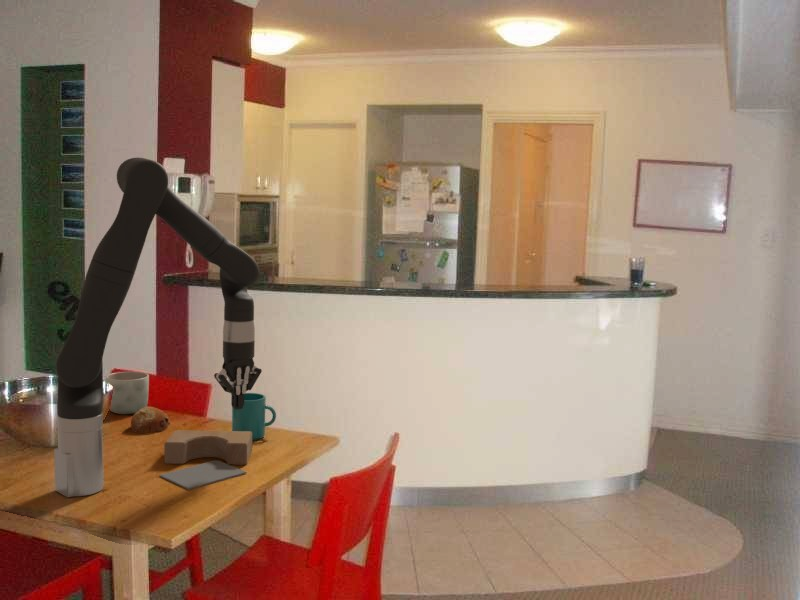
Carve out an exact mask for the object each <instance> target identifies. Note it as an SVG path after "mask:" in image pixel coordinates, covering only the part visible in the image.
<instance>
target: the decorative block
mask: <svg viewBox="0 0 800 600" xmlns="http://www.w3.org/2000/svg"><path fill="white" fill-rule="evenodd" d="M163 447H164V451H163V452H164V454H163V455H164V458H163V459H164V463H165V465H184V464H185V463H187V462H189V461H191V460H196V459H200V458H214V459H216V458H218V459H221V460H223V461H226V464H228V465H230V466H246V465H247V464H248V462H249V460H250V457H251V454H252V451H253V440H252V432H251V431H232V430H190V429H189V430H187V429H184V430H183V429H179V430H178V429H175V430H174V431H173V432H172V433H171V435H170V436H169V437H168V438H167V440H166V441H165V442H164V446H163Z"/></svg>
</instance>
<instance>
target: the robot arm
mask: <svg viewBox="0 0 800 600" xmlns="http://www.w3.org/2000/svg"><path fill="white" fill-rule="evenodd" d="M116 182H117V185H118V187H119V189H120V191H121V192H122V193H123V194H122V199H121V201H120V205H119V209H118V211H117V214H116V217H115V219H114V220H113V222H112V224H111V226H110V227H109V228H108V230H107V231H106V232H105V234H104V236H103V238H102V239H101V240H100V242H99V243H98V245H97V246H96V248H95V251H94V252H93V255H92V259H91V261H90V264H89V266H88V269H87V271H86V275H85V278H84V282H83V285H82V289H81V292H80V293H81V294H80V297H79V298H80V299H79V302H78V307H77V312H76V316H75V320H74V323H73V325H72V328H71V330H70V332H69V334H68V336H67V338H66V341H65V343H64V345H63V346H62V348H61V349H60V351H59V352H58V354H57V357H56V360H55V365H54V366H55V372H56V374H57V389H58V390H57V405H56V409H57V410H56V411H57V413H56V415H57V447H56V448H54V450H53V452H54V453H53V455H54V459H53V460H54V490H55V492H57V493H59V494H61V495H63V496H64V497H66V498H70V497H71V498H72V497H82V496H83V497H85V496H91V495H93V494H96V493H98V492H100V491H102V490H103V489H104V480H105V479H104V438H103V437H104V430H103V429H104V426H103V423H104V422H103V421H104V420H103V419H104V416H103V412H104V411H103V406H104V405H103V404H104V401H103V399H104V398H103V397H104V384H103V383H104V382H103V380H104V378H103V374H104V370H103V366H104V365H103V364H104V363H103V362H104V361H103V357H104V353H105V350H106V349H105V348H106V344H107V341H108V338H109V334H110V331H111V329H112V327H113V324H114V322H115V320H116V318H117V316H118V315H119V312H120V310H121V308H122V306H123V305H124V302H125V299H126V297H127V294H128V292H129V291H130V290H129V289H130V287H131V284H132V281H133V279H134V275H135V274H136V273H135V272H136V271H137V267H138V264H139V260H140V257H141V255H142V252H143V249H144V246H145V242H146V239H147V236H148V232H149V230H150V228H151V224H152V222H153V220H154V218H155V216H157V217H159V218H160V219H162V221H164V222H165V224H167V225H168V226H169V227H170V228H171V229H172V230H174V231H175V233H176V234H178V235H179V237H181V238H182V239H183V240H184V241H185V242H186V243H187V244H188V245H189V246H190V247H191V248H192V249H193V250H195V252H197V254H199V255H200V256H201V257H202V258H203V259H204V260H206V261H207V262H209V263H211V264H214V265H216V266H217V267H219V282H220V286H221V293H222V297H223V300H224V301H223V302H224V306H223V311H224V312H223V319H224V320H223V328H222V358H223V363H222V366H221V368H222V369H221V370H220V371H219V372H216V373H214V375H213V377H214V379H215V380H216V381H217V383H218V384H219V386H221V388H222V390H224V392H227V393H229V394H230V395H231V399H230V400H231V403H230V404H231V405H230V406H231V408H232V407H233V408H234V409H236V410H239V409H243V406H244V397H245V393H247V391H251V390H252V389H253V387H254V385H255V384H256V382H257V380H258V379H259V377H260V375H261V373H262V372H263V371H262V369H261V368H258V367H257V366H256V365H255V361H254V358H255V343H256V340H255V339H256V338H255V336H256V334H255V332H256V330H255V327H256V326H255V320H254V319H255V303H254V302H255V301H254V299H253V297H252V296H250V294H249V293H248V288H247V287H250V286H253V285H255V283H256V282H257V281H258V280H259V278H260V267H259V265H258V263H257V261H256V260H255V259H254V258H253V257H252V256H251V255H249V254H248V252H246V251H245V250H243V249H242V248H240V247H239V246H237V245H236V244H234V243H233V242H232V241H230V240H229V239H228V238H227V237H226V236H225V235H224V234H223V233H222V232H221V231H220V230H219V229H218V228H217V227H216V226H215V225H214V224H213V223H212V222H210V221H209V220H208V219H207V218H206V217H204V216H203V215H202V214H200V213H199V212H197V211H196V210H195V209H194V208H192V207H191V206H190V205H189V204H187V203H186V202H184V201H183V200H182V199H181V198H180V197H179V196H177V194H176V193H174V192H173V190H172V189H170V187H169V176H168V172H167V171H166V169H165V167H164V166H163V165H162V164H161V163H159V162H158V161H156V160H152V159H148V158H144V157H131V158H128V159H125V160H124V161H123V162H122V163H121V164H120V165H119V167H118V169H117V171H116Z"/></svg>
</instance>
